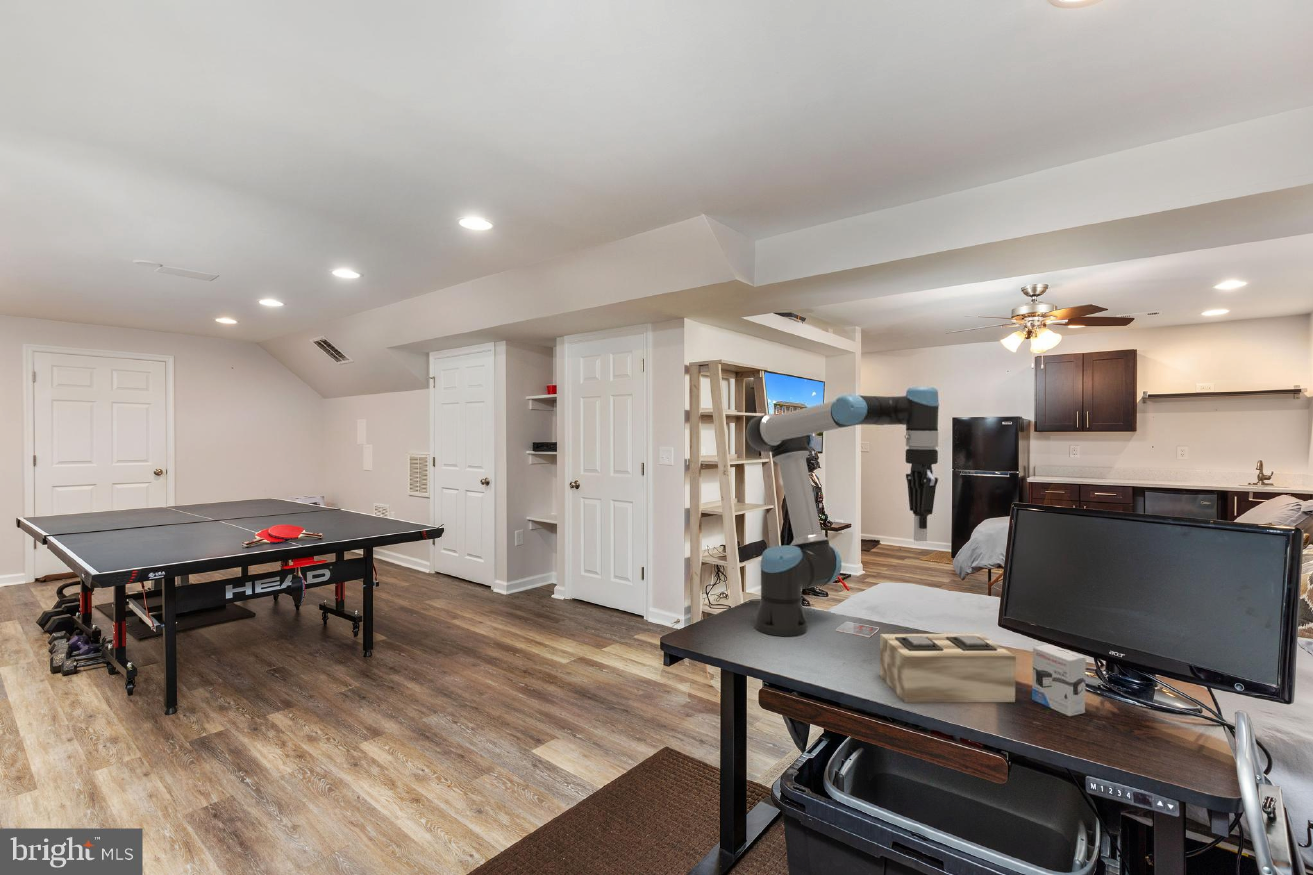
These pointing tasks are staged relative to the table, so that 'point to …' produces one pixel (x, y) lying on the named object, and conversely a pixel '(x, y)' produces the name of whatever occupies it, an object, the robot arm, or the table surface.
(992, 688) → the socket block
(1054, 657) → the ink box
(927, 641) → the peg
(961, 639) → the peg
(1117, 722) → the table surface
